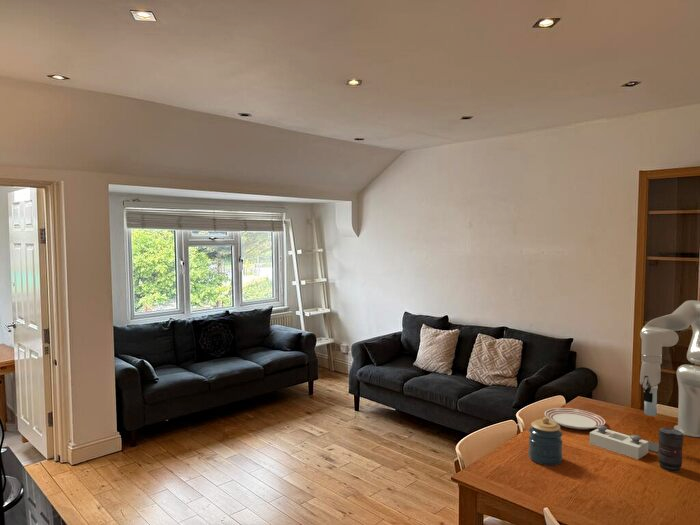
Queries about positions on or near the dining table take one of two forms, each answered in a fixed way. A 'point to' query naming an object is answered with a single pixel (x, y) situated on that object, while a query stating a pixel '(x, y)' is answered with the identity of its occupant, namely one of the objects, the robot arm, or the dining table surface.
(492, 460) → the dining table surface
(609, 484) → the dining table surface
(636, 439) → the plunger
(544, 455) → the canister
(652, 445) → the mat
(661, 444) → the camera lens
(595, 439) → the housing
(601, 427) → the plunger
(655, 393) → the cartridge
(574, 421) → the dinner plate
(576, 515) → the dining table surface
